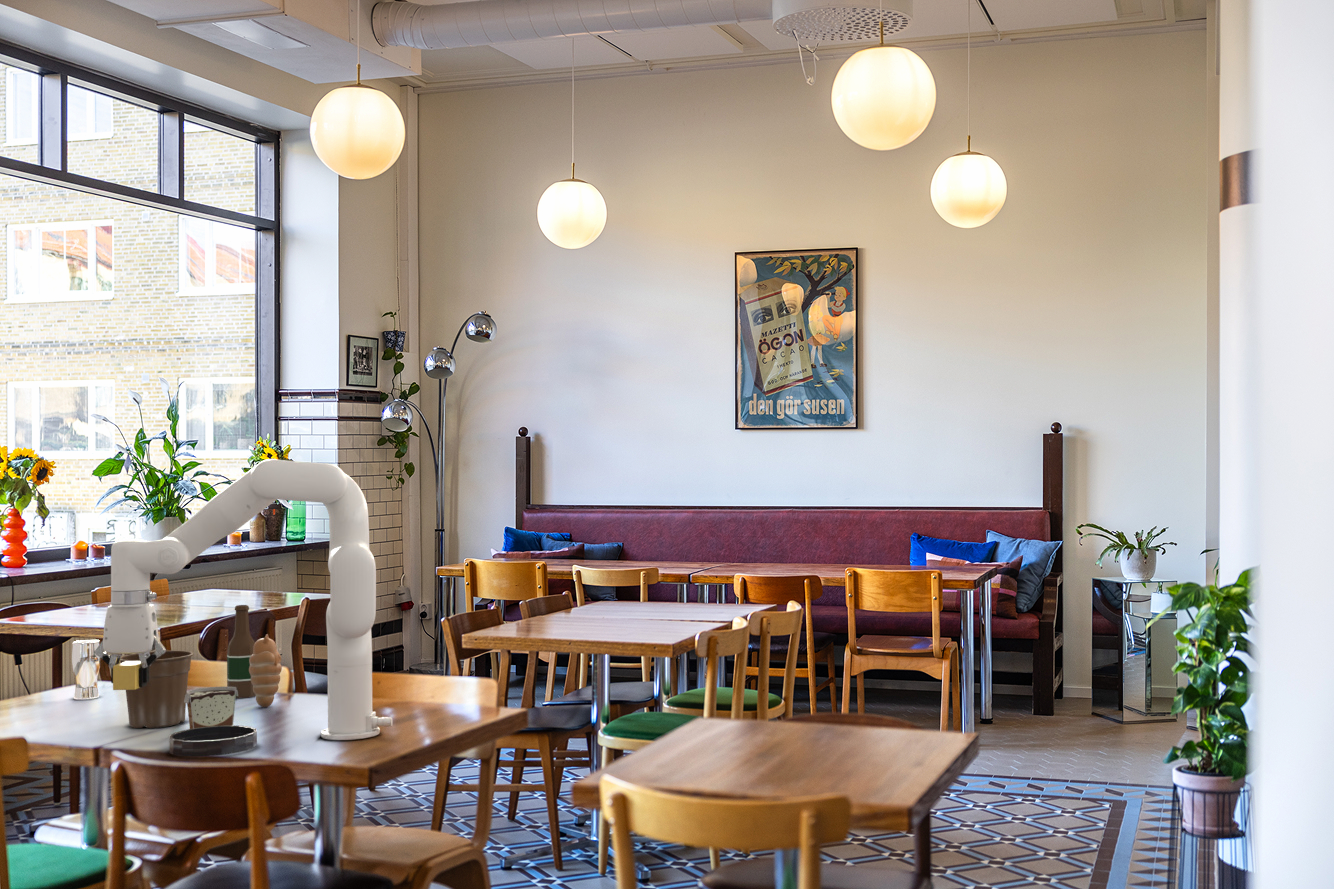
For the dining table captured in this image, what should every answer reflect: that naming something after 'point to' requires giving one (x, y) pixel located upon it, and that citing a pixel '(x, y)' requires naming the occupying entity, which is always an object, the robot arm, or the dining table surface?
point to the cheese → (126, 675)
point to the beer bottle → (240, 655)
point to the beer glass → (85, 669)
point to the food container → (211, 706)
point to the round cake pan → (212, 740)
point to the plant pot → (160, 691)
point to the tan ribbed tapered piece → (265, 670)
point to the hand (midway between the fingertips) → (130, 685)
